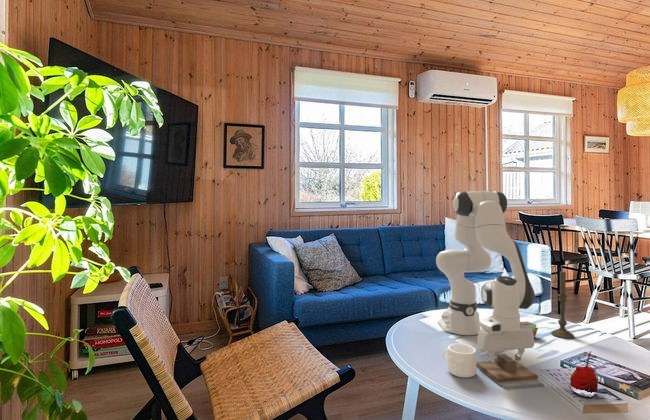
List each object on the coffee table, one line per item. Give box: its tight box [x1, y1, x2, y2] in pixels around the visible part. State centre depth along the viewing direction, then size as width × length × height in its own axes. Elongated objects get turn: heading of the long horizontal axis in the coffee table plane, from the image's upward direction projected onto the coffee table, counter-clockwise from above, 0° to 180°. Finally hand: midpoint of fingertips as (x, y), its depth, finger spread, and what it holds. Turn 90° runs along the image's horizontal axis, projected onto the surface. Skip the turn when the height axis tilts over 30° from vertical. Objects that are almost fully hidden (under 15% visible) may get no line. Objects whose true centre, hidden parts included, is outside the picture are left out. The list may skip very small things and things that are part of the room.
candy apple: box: [569, 350, 599, 393], centre depth 123 cm, size 8×7×15 cm
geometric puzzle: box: [528, 321, 540, 338], centre depth 173 cm, size 7×7×8 cm
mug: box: [443, 343, 477, 379], centre depth 139 cm, size 12×10×9 cm
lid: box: [476, 353, 539, 383], centre depth 137 cm, size 13×15×5 cm
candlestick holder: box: [550, 270, 575, 340], centre depth 175 cm, size 9×9×30 cm
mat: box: [476, 359, 545, 390], centre depth 137 cm, size 20×14×1 cm
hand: (506, 360), depth 137 cm, fingers open, 8 cm apart
